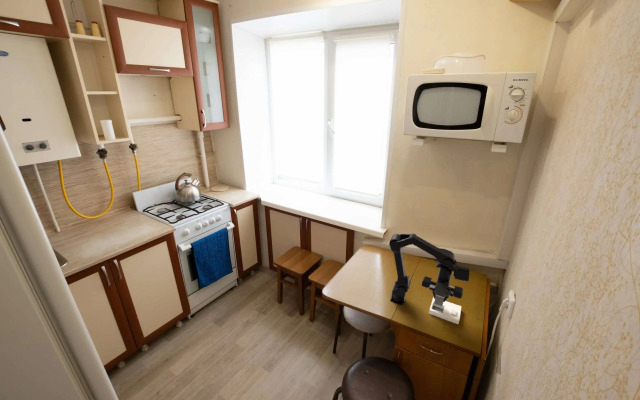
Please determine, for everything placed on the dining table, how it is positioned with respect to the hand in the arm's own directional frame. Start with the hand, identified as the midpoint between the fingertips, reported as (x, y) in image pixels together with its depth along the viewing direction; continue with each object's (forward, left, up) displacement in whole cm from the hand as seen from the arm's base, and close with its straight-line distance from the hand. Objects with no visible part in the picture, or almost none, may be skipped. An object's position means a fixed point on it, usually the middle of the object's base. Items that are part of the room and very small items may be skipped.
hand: (439, 300), depth 142 cm
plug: (0, 0, -2) cm, 2 cm away
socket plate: (+4, +2, -7) cm, 8 cm away
